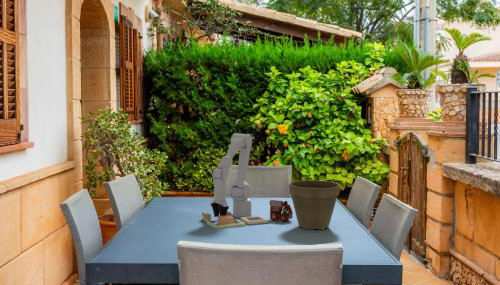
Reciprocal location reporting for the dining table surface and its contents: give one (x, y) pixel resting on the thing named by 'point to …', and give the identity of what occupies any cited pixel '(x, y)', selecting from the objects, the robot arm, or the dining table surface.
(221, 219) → the terracotta block
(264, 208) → the dining table surface
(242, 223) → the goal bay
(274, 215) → the toy fire truck
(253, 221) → the trap basin
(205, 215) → the channel walls
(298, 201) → the plant pot
